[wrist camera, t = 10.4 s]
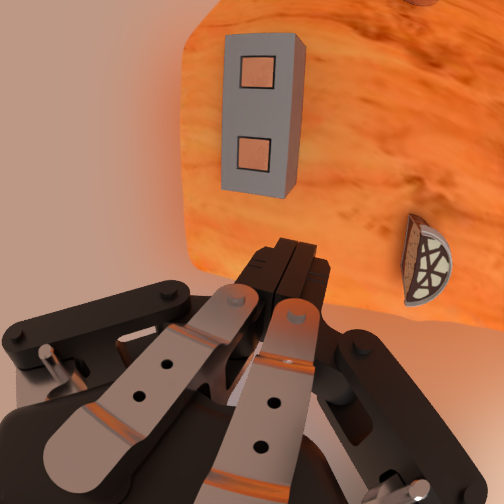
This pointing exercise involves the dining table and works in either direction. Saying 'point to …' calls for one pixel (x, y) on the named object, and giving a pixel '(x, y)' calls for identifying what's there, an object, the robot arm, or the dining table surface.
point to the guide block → (263, 112)
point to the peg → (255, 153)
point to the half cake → (424, 262)
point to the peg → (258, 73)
